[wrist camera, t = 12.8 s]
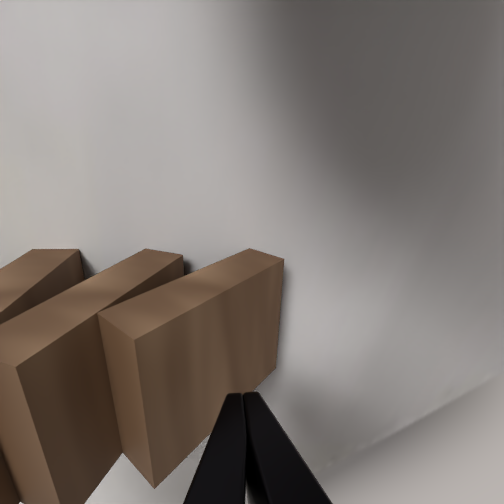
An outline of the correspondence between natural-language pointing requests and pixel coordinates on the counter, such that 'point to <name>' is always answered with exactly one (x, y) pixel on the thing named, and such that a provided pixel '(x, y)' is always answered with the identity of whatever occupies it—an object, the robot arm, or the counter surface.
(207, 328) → the domino
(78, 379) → the domino
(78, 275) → the domino
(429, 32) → the counter surface
